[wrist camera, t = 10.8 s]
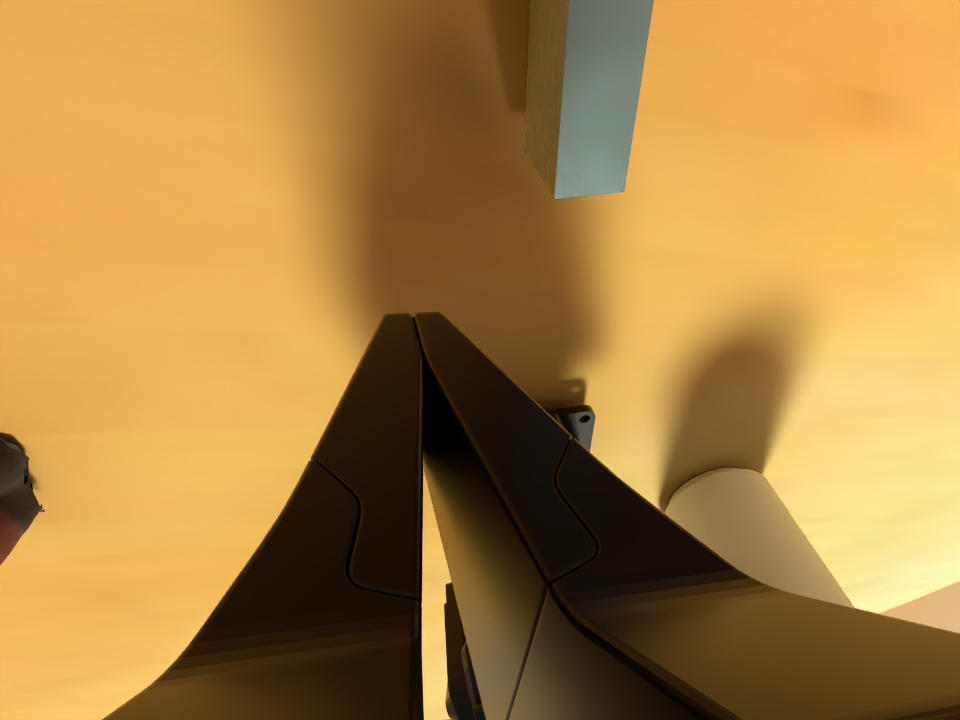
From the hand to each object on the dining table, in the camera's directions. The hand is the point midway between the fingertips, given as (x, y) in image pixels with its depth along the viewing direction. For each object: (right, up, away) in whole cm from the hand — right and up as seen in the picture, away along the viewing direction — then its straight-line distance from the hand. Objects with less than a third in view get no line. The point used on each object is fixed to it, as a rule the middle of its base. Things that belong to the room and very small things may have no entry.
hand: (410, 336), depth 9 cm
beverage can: (+15, -8, +28) cm, 32 cm away
